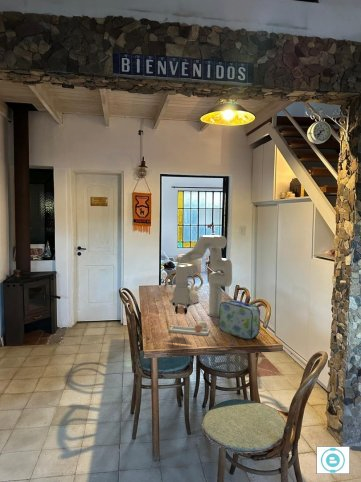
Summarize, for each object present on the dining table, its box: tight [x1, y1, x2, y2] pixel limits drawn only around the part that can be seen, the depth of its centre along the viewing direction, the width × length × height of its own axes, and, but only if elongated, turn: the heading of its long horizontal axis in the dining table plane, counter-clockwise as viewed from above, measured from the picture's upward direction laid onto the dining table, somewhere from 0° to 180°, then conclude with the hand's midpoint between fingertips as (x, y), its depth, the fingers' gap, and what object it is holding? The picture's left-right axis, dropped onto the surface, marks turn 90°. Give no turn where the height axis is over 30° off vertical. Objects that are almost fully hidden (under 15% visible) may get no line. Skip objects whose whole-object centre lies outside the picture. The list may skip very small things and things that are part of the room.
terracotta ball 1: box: [177, 305, 185, 315], centre depth 208 cm, size 5×5×5 cm
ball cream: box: [199, 320, 208, 329], centre depth 214 cm, size 5×5×5 cm
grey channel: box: [168, 325, 211, 337], centre depth 208 cm, size 8×24×2 cm, turn 76°
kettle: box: [180, 280, 200, 305], centre depth 285 cm, size 20×21×18 cm
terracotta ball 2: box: [194, 323, 202, 332], centre depth 207 cm, size 5×5×5 cm
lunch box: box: [218, 298, 261, 340], centre depth 205 cm, size 26×11×21 cm, turn 45°
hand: (181, 313), depth 208 cm, fingers closed on terracotta ball 1, 4 cm apart
